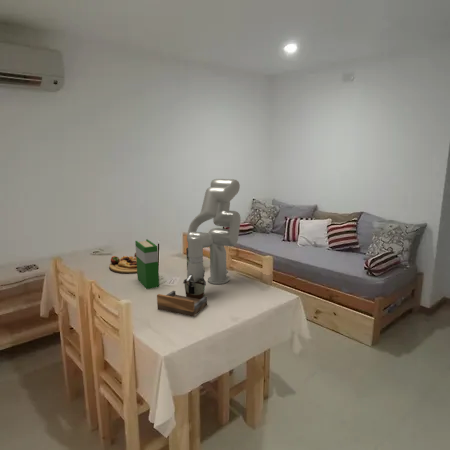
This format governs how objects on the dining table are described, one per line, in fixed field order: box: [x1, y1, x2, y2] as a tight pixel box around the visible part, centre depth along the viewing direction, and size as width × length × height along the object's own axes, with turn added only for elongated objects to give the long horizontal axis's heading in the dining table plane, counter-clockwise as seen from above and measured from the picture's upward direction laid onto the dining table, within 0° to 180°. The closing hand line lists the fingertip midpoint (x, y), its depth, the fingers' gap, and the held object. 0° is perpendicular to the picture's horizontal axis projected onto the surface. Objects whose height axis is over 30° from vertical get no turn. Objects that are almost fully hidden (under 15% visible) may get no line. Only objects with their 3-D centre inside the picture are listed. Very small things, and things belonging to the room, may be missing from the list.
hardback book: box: [134, 238, 160, 290], centre depth 209 cm, size 18×7×24 cm, turn 29°
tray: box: [156, 290, 208, 318], centre depth 178 cm, size 14×20×8 cm
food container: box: [182, 278, 207, 299], centre depth 190 cm, size 12×6×10 cm, turn 74°
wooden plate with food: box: [109, 252, 137, 275], centre depth 242 cm, size 32×32×8 cm
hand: (196, 290), depth 190 cm, fingers open, 9 cm apart
